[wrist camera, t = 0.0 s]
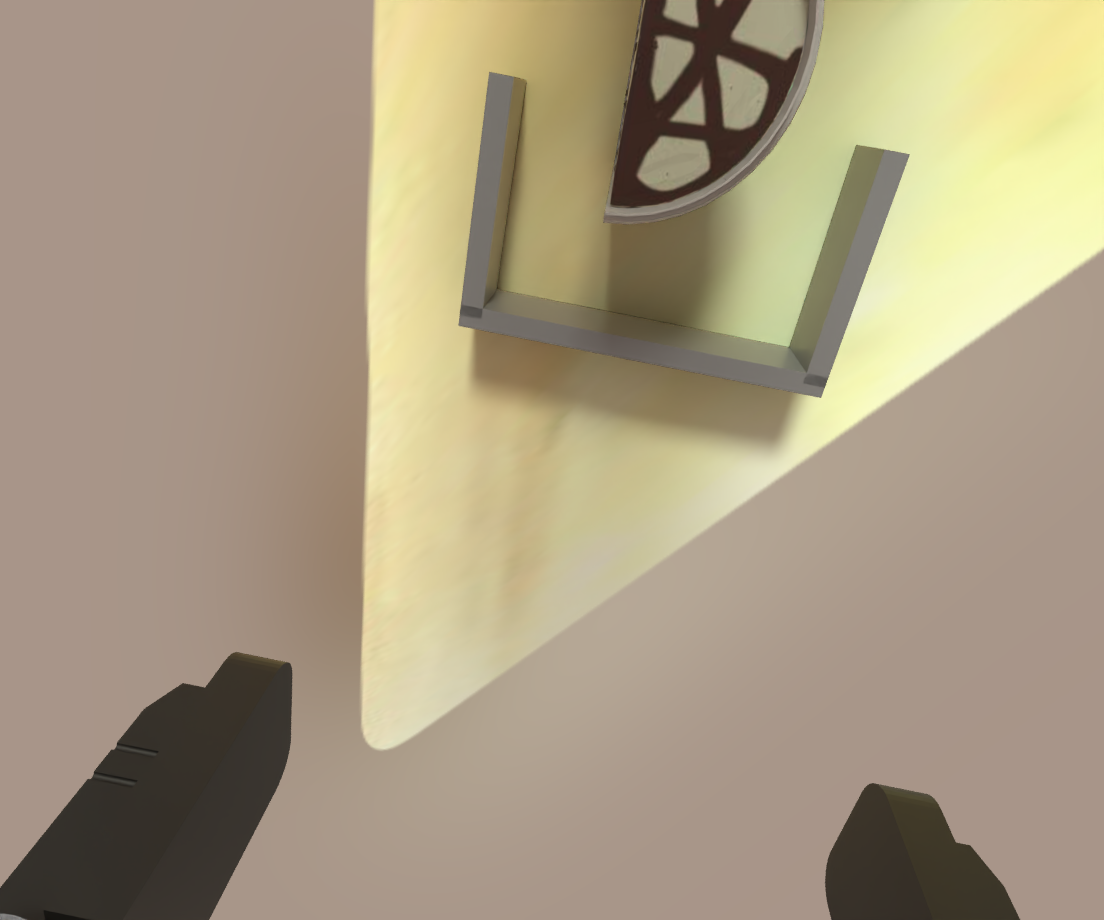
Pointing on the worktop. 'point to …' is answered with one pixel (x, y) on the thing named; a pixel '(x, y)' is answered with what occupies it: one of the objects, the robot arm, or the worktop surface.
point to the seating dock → (663, 342)
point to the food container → (707, 99)
